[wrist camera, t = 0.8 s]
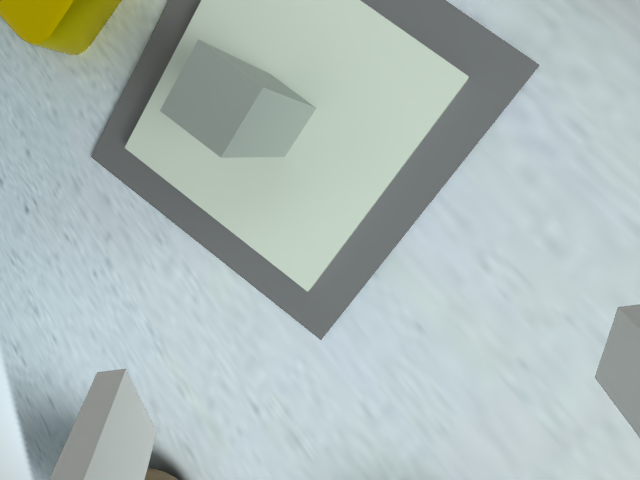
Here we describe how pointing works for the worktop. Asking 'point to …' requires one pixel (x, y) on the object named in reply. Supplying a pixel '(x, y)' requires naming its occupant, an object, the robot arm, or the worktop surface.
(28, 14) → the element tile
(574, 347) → the worktop surface
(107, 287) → the worktop surface
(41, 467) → the worktop surface
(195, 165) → the sage lid
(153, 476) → the vase
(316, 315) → the rubber mat
